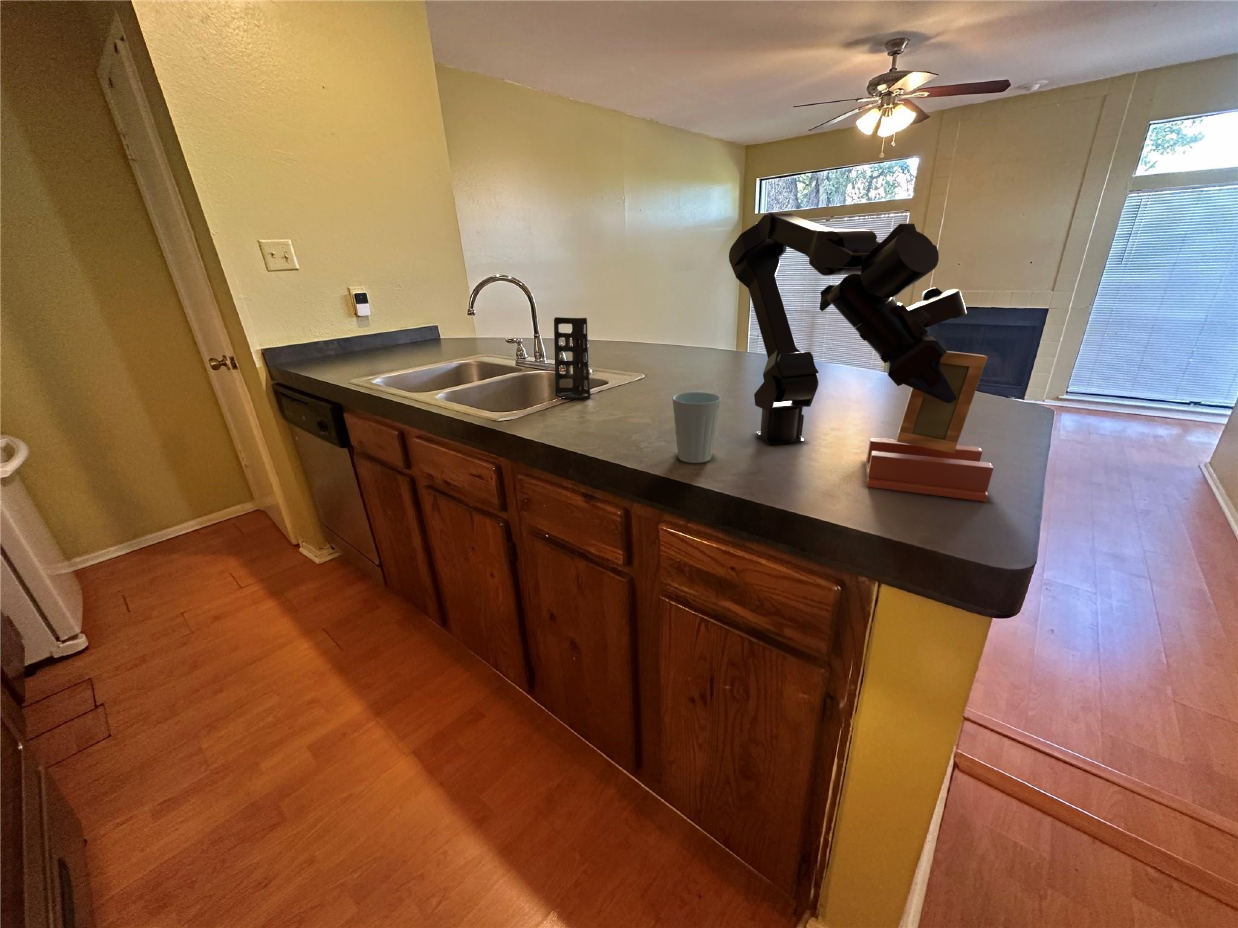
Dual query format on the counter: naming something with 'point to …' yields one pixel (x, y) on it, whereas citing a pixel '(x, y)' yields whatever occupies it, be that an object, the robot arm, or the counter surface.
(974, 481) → the slot stand
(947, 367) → the frame
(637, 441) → the counter surface
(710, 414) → the cup
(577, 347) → the holder
